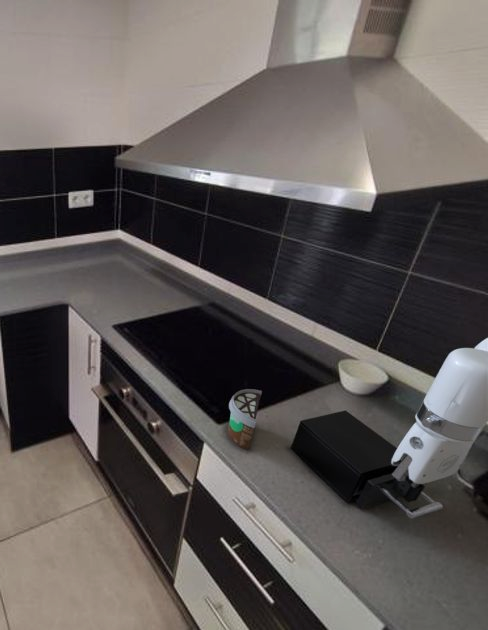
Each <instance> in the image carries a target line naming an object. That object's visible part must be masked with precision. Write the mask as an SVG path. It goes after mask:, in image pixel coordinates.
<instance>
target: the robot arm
mask: <svg viewBox="0 0 488 630" xmlns="http://www.w3.org/2000/svg"><path fill="white" fill-rule="evenodd" d="M415 413H416V414H415V415H414V416H415V420H416V421H415V423H414V424H413V425H412V426H411V427H410V429H409V430H408V431H407V432H406V434H405V436H404V437H403V438H402V440H401V441H400V443H399V445H398V446H397V447H396V448H397V450H396V452H395V453H394V456H393V458H392V461H391V463H392V465H393V466H398V465H399V466H398V467H397V468H396V470H395V471H394V472H393V474H392V476H393V477H394V478H395V479H396V482H395V484H394V486H393V487H392V489H393V490H394V491H395V492H396V493H397V494H398V495H399V496H401V497H400V498H402V500H404V501H405V502H407V503H409V504H410V503H412V502H416V501H417V500H418V498H419V497H420V494H421V492H424V489H425V487H426V485H428V484H429V483H431V482H435V481H438V480H441V479H444V478H447V477H450V476H453V475H454V474H456V473H458V472H459V470H460V469H461V467H462V465H463V463H464V461H465V460H466V458H467V456H468V454H469V452H470V450H471V448H472V447H473V444H474V442H475V441H476V440H477V438H478V437H479V436H480V434H481V432H482V431H483V430H484V428H485V427H486V424H487V423H488V337H486V338H485V339H483V340H481V341H480V342H479V343H478V344H477V345H475V346H474V347H460V348H457V349H454V350H452V351H451V352H449V353H448V355H447V357H446V358H445V360H444V361H443V364H442V365H441V367H440V369H439V371H438V373H437V374H436V376H435V378H434V380H433V382H432V384H431V385H430V388H429V390H428V391H427V393H426V395H425V397H424V399H423V400H422V402H421V404H420V406H419V407H418V409H417V412H415Z"/></svg>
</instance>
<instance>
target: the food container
mask: <svg viewBox="0 0 488 630" xmlns="http://www.w3.org/2000/svg"><path fill="white" fill-rule="evenodd" d="M262 393H263V391H262V390H259V389H252V388H251V389H250V388H246V389H241V390H239V391H237V392H235V394H234V395H232V397H231V398H230V400H229V403H228V409H229V412H230V417H229V422H228V429H227V435H228V436H229V439H230V440H231V441H232V442H233V443H234V444H235V445H236V446H237V447H239V448H241V449H243V450H246V451H248V450H249V446H250V443H251V440H252V437H253V433H254V430H255V427H256V423H257V415H258V410H259V409H258V408H259V403H260V399H261V397H262Z"/></svg>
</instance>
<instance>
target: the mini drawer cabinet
mask: <svg viewBox="0 0 488 630" xmlns="http://www.w3.org/2000/svg"><path fill="white" fill-rule="evenodd" d="M397 448H398V447H396V445H393V444H392V443H391V442H390V441H388V440H387V439H385V438H384V437H383V436H381V435H380V434H379V433H378V432H376V431H375V430H373V429H372V428H370V427H369V426H368V425H366V424H365V422H362V421H361V420H360V419H359V418H357V417H356V416H354V415H352V413H350V412H349V411H347V410H340V411H336V412H333V413H327V414H323V415H319V416H315V417H311V418H310V417H309V418H306V419H301V420H300V421H299V424H298V427H297V429H296V432H295V435H294V438H293V441H292V443H291V447H290V450H291V452H293V453H294V454H295V455H296V457H298V458H299V459H300V460H301V461H302V462H303V463H304V464H305V465H306V466H307V467H309V469H311V470H312V472H313V473H315V474H316V475H317V476H318V477H319V478H320V479H321V480H322V481H323V482H324V483H325V484H326V485H327V486H328V487H329V488H330V489H331V490H332V491H333V492H334V493H335V494H336V495H337V496H338V497H339V498H340V499H341V500H343V501H344V502H345V504H348V503H352V502H357V500H358V498H359V496H360V494H359V495H355V496H353V494H354V492H355V490H356V489H357V487H358V485H359V483H360V481H361V479H362V477H363V475H365V474H369V473H372V472H376V471H380V470H383V469H387V468H390V467H394V466H393V465H392V463H391V461H392V458H393V456H394V453H395V452H396V450H397Z"/></svg>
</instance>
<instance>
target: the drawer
mask: <svg viewBox="0 0 488 630" xmlns="http://www.w3.org/2000/svg"><path fill="white" fill-rule="evenodd" d="M398 466H399V465H398ZM398 466H394V467H390V468H387V469H383V470H380V471H376V472H372V473H369V474H365V475H363V477H362V479H361V481H360V483H359V485H358V487H357V489H356V490H355V492H354V494H353V496H355V495H359V494H360V496H359V498H358V500H356V501H355V505H356V506H357V508H359V509H360V510H363V509H366V508H370V507H372V506H376V505H379V504H383V503H385V502H386V503H387V502H389V501H392V502H393V503H395V505H396V506H398V507H399V508H400V509H401V510H403V511H404V512H405V513H406V516H407V517H408V518H409V519H412V520H413V519H416V518H419V517H421V516H425V515H428V514H431V513H434V512H438V511H440V510H443V508H444V506H443V504H442V503H441V502H439V501H435V500H434V499H432V498H431V497H430V496H428V495H427V494H426V493H425V492H424V491H422V492H421V494H420V495H419V497H421V498H423V499H424V500H425V501H427V502H428V503H429V504H426V505H423V506H419V507H416V508H413V509H410V508H409V507H407V506H406V504H404V503H403V502H402V501H400V500H399V499H400V498H402V497H401V496H399V495H398V494H397V493H396V492H395V491H394V490H393V489H392V487H393V486H394V484H395V482H396V479H395V478H394V477H393V476H392V474H393V472H394V471H395V470H396V468H397V467H398Z"/></svg>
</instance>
